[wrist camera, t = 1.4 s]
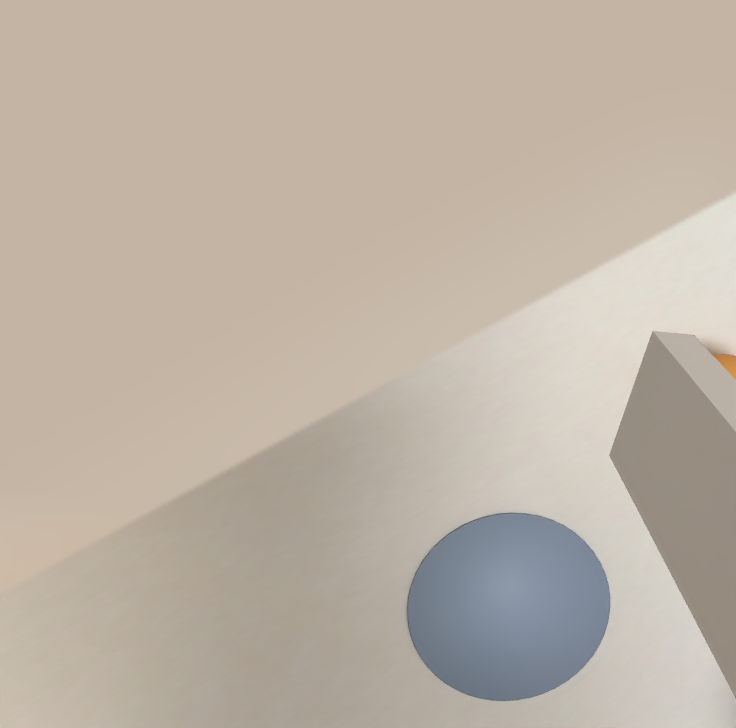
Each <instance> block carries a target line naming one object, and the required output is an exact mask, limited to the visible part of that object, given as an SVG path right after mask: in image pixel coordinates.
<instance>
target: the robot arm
mask: <svg viewBox="0 0 736 728" xmlns="http://www.w3.org/2000/svg"><path fill="white" fill-rule="evenodd" d="M609 456H610V458H611V460H612V461H613V463H614V465H615V467H616V469H617V471H618V473H619V475H620V477H621V479H622V481H623V483H624V484H625V486H626V488H627V490H628V492H629V494H630V496H631V498H632V500H633V502H634V504H635V506H636V508H637V509H638V511H639V513H640V515H641V517H642V519H643V521H644V523H645V525H646V527H647V529H648V531H649V532H650V534H651V536H652V538H653V540H654V542H655V544H656V546H657V548H658V550H659V552H660V554H661V556H662V557H663V559H664V561H665V563H666V565H667V567H668V569H669V571H670V573H671V575H672V577H673V579H674V580H675V582H676V584H677V586H678V588H679V590H680V592H681V594H682V596H683V598H684V600H685V602H686V604H687V605H688V607H689V609H690V611H691V613H692V615H693V617H694V619H695V621H696V623H697V625H698V627H699V628H700V630H701V632H702V634H703V636H704V638H705V640H706V642H707V644H708V646H709V648H710V650H711V652H712V653H713V655H714V657H715V659H716V661H717V663H718V665H719V667H720V669H721V671H722V673H723V675H724V676H725V678H726V680H727V682H728V684H729V686H730V688H731V690H732V692H733V694H734V696H735V698H736V380H735V379H734V377H733V376H732V375H731V374H730V373H729V372H728V371H727V370H726V369H725V368H724V367H723V366H722V365H721V363H720V362H719V361H718V360H717V359H716V358H715V357H714V356H713V355H712V354H711V353H710V352H709V351H708V350H707V348H706V347H705V346H704V345H703V344H702V343H701V342H700V341H699V340H698V339H697V338H696V337H695V336H694V335H688V334H678V333H668V332H658V331H652V334H651V337H650V340H649V343H648V346H647V349H646V352H645V354H644V357H643V360H642V363H641V366H640V369H639V372H638V375H637V377H636V380H635V383H634V386H633V389H632V392H631V395H630V397H629V400H628V403H627V406H626V409H625V412H624V415H623V418H622V420H621V423H620V426H619V429H618V432H617V435H616V438H615V440H614V443H613V446H612V449H611V452H610V455H609Z"/></svg>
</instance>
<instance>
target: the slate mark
mask: <svg viewBox="0 0 736 728" xmlns="http://www.w3.org/2000/svg"><path fill="white" fill-rule="evenodd" d="M609 612H610V593H609V585H608V582H607V578H606V575H605V572H604V570H603V568H602V565H601V563H600V561H599V560H598V558H597V557H596V555H595V553H594V552H593V551H592V549H591V548H590V547H589V546H588V545H587V544H586V542H585V541H584V540H582V539H581V538H580V537H579V536H578V535H577V534H576V533H574V532H573V531H571V530H570V529H568V528H567V527H565V526H563V525H561V524H559V523H557V522H555V521H553V520H550V519H547V518H544V517H541V516H536V515H531V514H521V513H506V514H497V515H492V516H487V517H483V518H480V519H477V520H474V521H472V522H470V523H467V524H465V525H463V526H461V527H459V528H458V529H456V530H455V531H453V532H451V533H450V534H448V535H447V536H446V537H445V538H444V539H442V540H441V541H440V542H439V543H438V544H437V545H436V546H435V547H434V548H433V549H432V550H431V551H430V552H429V554H428V555H427V556H426V558H425V559H424V560H423V562H422V564H421V565H420V567H419V569H418V571H417V573H416V575H415V577H414V580H413V583H412V585H411V590H410V594H409V599H408V624H409V629H410V634H411V637H412V640H413V643H414V646H415V648H416V650H417V652H418V654H419V656H420V657H421V659H422V660H423V662H424V663H425V664H426V666H427V667H428V668H429V669H430V670H431V671H432V672H433V673H434V674H435V675H436V676H437V677H438V678H439V679H440V680H442V681H443V682H444V683H446V684H447V685H449V686H451V687H452V688H454V689H456V690H458V691H460V692H462V693H465V694H467V695H470V696H473V697H477V698H481V699H487V700H495V701H511V700H520V699H526V698H531V697H534V696H537V695H540V694H543V693H546V692H548V691H550V690H552V689H555V688H556V687H558V686H560V685H561V684H563V683H565V682H566V681H568V680H569V679H570V678H571V677H573V676H574V675H575V674H577V673H578V672H579V671H580V670H581V669H582V668H583V667H584V666H585V665H586V663H587V662H588V661H589V660H590V658H591V657H592V656H593V655H594V653H595V651H596V650H597V648H598V646H599V645H600V643H601V640H602V638H603V636H604V634H605V630H606V627H607V624H608V619H609Z"/></svg>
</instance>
